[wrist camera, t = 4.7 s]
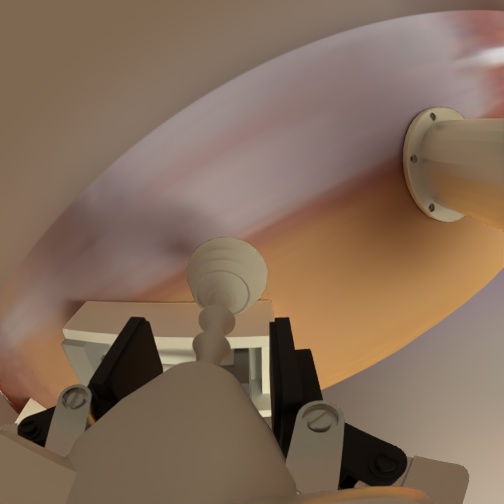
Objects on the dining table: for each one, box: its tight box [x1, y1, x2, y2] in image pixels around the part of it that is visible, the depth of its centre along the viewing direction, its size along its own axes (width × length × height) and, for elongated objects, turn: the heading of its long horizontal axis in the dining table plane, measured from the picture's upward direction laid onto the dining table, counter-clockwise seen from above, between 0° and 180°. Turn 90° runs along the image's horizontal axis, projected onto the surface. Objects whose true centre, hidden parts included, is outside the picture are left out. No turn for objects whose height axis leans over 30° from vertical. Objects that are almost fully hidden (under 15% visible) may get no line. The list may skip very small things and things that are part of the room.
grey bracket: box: [61, 300, 275, 417], centre depth 26 cm, size 21×11×7 cm, turn 92°
